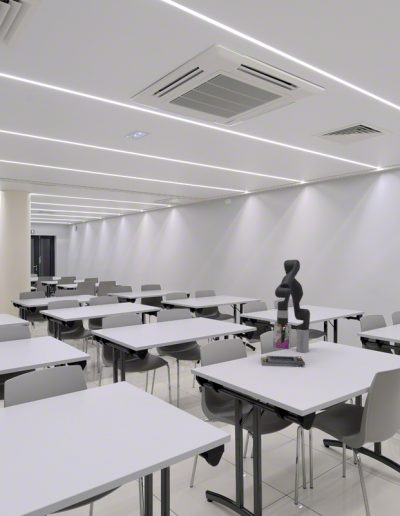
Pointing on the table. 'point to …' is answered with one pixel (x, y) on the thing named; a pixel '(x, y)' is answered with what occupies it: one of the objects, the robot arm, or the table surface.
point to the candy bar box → (278, 336)
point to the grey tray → (282, 361)
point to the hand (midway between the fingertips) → (282, 340)
